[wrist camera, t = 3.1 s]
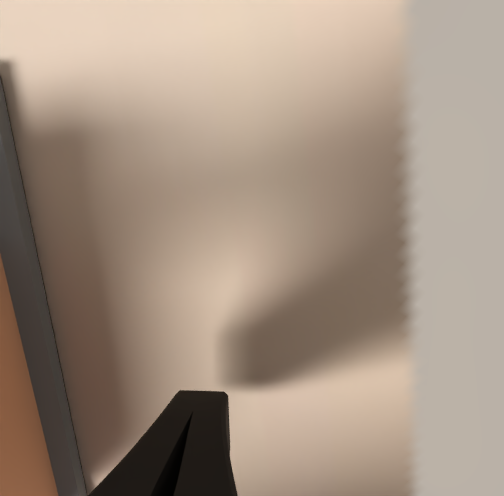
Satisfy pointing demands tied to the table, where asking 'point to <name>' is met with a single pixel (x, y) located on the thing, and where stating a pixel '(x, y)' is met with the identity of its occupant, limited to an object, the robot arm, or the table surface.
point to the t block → (19, 414)
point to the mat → (35, 318)
